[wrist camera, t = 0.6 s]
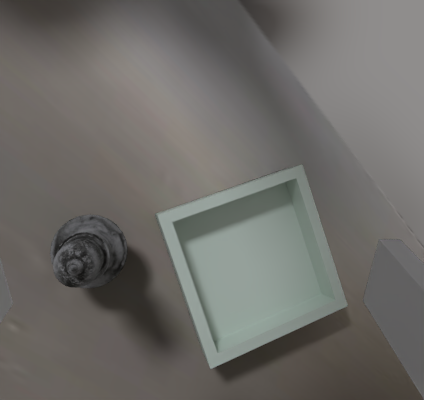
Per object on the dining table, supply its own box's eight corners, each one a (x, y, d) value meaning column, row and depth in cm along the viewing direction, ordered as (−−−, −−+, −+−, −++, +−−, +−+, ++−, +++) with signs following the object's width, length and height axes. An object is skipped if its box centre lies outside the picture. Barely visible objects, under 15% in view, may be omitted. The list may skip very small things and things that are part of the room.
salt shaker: (139, 233, 33) (143, 247, 21) (107, 290, 32) (93, 338, 20) (81, 202, 32) (51, 199, 20) (46, 260, 31) (-6, 293, 19)
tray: (154, 214, 33) (157, 214, 30) (286, 168, 36) (302, 164, 33) (202, 352, 34) (210, 369, 30) (327, 296, 37) (347, 305, 33)
